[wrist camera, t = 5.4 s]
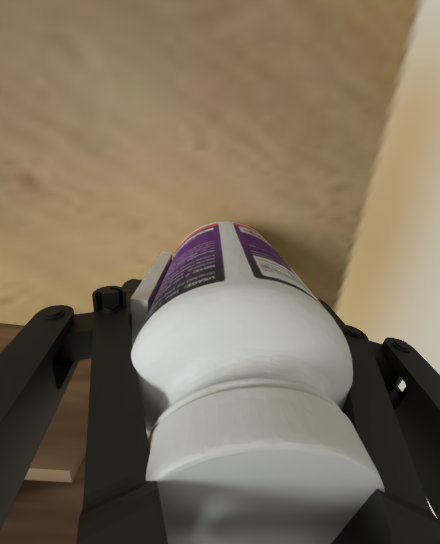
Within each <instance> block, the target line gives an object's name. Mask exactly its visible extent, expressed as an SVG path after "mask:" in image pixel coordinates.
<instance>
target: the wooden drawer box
mask: <svg viewBox="0 0 440 544" xmlns="http://www.w3.org/2000/svg"><path fill="white" fill-rule="evenodd" d="M23 328H24V326H18V325H9V324H0V353H1V352H2V351H3V350H4V348H5V347H6V346H7V345H8V344H9V343H10V342H11V341H12V340H13V339H14V337H15V336H16V335H17V334H18V333H19V332H20V331H21V330H22V329H23ZM90 373H91V358H90V359H84V360H80V361H79V363H78V365H77V367H76V369H75V371H74V374H73V376H72V378H71V380H70V382H69V384H68V386H67V389H66V391H65V393H64V395H63V397H62V399H61V401H60V404H59V406H58V408H57V410H56V412H55V414H54V416H53V419H52V421H51V423H50V425H49V427H48V429H47V431H46V434H45V436H44V438H43V440H42V442H41V444H40V446H39V449H38V451H37V453H36V455H35V457H34V459H33V461H32V464H31V466H30V468H29V470H28V472H27V474H26V476H25V479H24V481H23V483H22V485H21V487H20V489H19V491H18V494H17V496H16V498H15V500H14V502H13V504H12V506H11V509H10V511H9V513H8V515H7V517H6V519H5V521H4V524H3V526H2V528H1V530H0V544H76V541H77V530H78V522H79V516H80V514H81V511H82V507H83V497H84V479H85V462H86V444H87V426H88V409H89V391H90Z"/></svg>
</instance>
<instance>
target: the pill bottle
mask: <svg viewBox="0 0 440 544" xmlns="http://www.w3.org/2000/svg"><path fill="white" fill-rule="evenodd" d="M131 360H132V363H133V366H134V367H135V369H136V370H137V376H138V382H139V388H140V394H141V401H142V407H143V413H144V420H145V426H146V432H147V434H148V436H149V439H148V445H149V451H150V455H149V460H148V465H147V470H146V481H157V485H158V490H159V495H160V500H161V506H162V512H163V518H164V524H165V530H166V536H167V542H168V544H331V543H332V542H333V541H334V540H335V538H336V537H337V536H338V535H339V533H340V532H341V531H342V530H343V528H344V527H345V526H346V525H347V523H348V522H349V521H350V520H351V519H352V517H353V516H354V515H355V514H356V513H357V511H358V510H359V509H360V508H361V507H362V505H363V504H364V503H365V502H366V501H367V499H368V498H369V497H370V496H371V495H372V494H373V492H374V491H375V490H376V489H379V490H381V491H383V492H385V489H384V485H383V482H382V480H381V478H380V475H379V473H378V471H377V469H376V467H375V465H374V464H373V462H372V460H371V458H370V456H369V454H368V453H367V451H366V449H365V447H364V445H363V443H362V441H361V440H360V438H359V436H358V434H357V432H356V430H355V428H354V426H353V424H352V422H351V421H350V420H349V418H348V417H347V416H346V415H345V414H344V413H343V412H342V409H343V406H344V404H345V401H346V399H347V396H348V393H349V390H350V388H351V385H352V383H353V365H352V357H351V353H350V349H349V346H348V343H347V340H346V338H345V336H344V335H343V333H342V331H341V329H340V328H339V326H338V325H337V323H336V322H335V321H334V320H333V318H332V317H331V316H330V314H329V313H328V312H327V311H326V310H325V308H324V307H323V306H322V305H321V304H320V303H319V302H318V300H317V299H316V298H315V297H314V296H313V295H312V294H311V292H310V291H309V290H308V289H307V288H306V287H305V285H304V284H303V283H302V282H301V281H300V279H299V278H298V277H297V276H296V275H295V274H294V272H293V271H292V270H291V269H290V268H289V266H288V265H287V264H286V263H285V262H284V261H283V259H282V258H281V257H280V256H279V255H278V253H277V252H276V251H275V250H274V249H273V248H272V246H271V245H270V244H269V243H268V241H267V240H266V239H265V238H264V237H263V236H262V235H261V234H260V233H258V232H257V231H256V230H254V229H252V228H250V227H248V226H246V225H244V224H240V223H236V222H229V221H222V222H214V223H210V224H207V225H204V226H202V227H200V228H198V229H196V230H195V231H193V232H192V233H190V234H189V235H188V236H187V237H186V238H185V239H184V240H183V242H182V243H181V244H180V246H179V247H178V249H177V251H176V253H175V255H174V257H173V259H172V262H171V264H170V266H169V268H168V271H167V273H166V275H165V277H164V279H163V282H162V284H161V286H160V288H159V290H158V293H157V295H156V297H155V299H154V301H153V304H152V306H151V308H150V310H149V312H148V314H147V316H146V319H145V321H144V323H143V325H142V327H141V329H140V331H139V334H138V336H137V338H136V341H135V343H134V345H133V347H132V351H131Z"/></svg>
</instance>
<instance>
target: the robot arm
mask: <svg viewBox="0 0 440 544" xmlns="http://www.w3.org/2000/svg"><path fill="white" fill-rule="evenodd" d="M171 262H172V252H164V251H161V253H160V254H159V256H158V258H157V259H156V261H155V262H154V264H153V265H152V267H151V268H150V270H149V271H148V273H147V274H146V276H145V277H144V279H143V280H138V279H131V280H129V281H127V282H125V283H124V285H123V286H122V287H118V286H106V287H102V288H99V289H97V290H96V291H94V292H93V294H92V296H93V306H94V312H92V313H85V314H74V310H73V309H72V308H71V307H69V306H64V305H58V306H51V307H47V308H45V309H43V310H40V311H39V312H38V313H37V314H35V316H34V317H33V318H32V319H31V320H30V321H29V322H28V323H27V324H26V325H25V326H24V328H23V329H22V330H21V331H20V332H19V333H18V334H17V335H16V336H15V337H14V339H13V340H12V341H11V342H10V343H9V344H8V345H7V346H6V347H5V348H4V350H3V351H2V352H1V353H0V530H1V528H2V526H3V524H4V521H5V519H6V517H7V515H8V513H9V511H10V509H11V506H12V504H13V502H14V500H15V498H16V496H17V494H18V491H19V489H20V487H21V485H22V483H23V481H24V479H25V476H26V474H27V472H28V470H29V468H30V466H31V464H32V461H33V459H34V457H35V455H36V453H37V451H38V449H39V446H40V444H41V442H42V440H43V438H44V436H45V434H46V431H47V429H48V427H49V425H50V423H51V421H52V419H53V416H54V414H55V412H56V410H57V408H58V406H59V404H60V401H61V399H62V397H63V395H64V393H65V391H66V389H67V386H68V384H69V382H70V380H71V378H72V376H73V374H74V371H75V369H76V367H77V365H78V363H79V361H80V360H84V359H90V358H91V373H90V391H89V409H88V426H87V444H86V462H85V479H84V497H83V507H82V511H81V514H80V516H79V522H78V530H77V541H76V544H168V542H167V536H166V530H165V524H164V518H163V512H162V506H161V500H160V495H159V490H158V485H157V481H146V470H147V465H148V460H149V455H150V451H149V445H148V439H147V432H146V426H145V420H144V413H143V407H142V401H141V394H140V388H139V382H138V376H137V370H136V369H135V367H134V366H133V363H132V360H131V351H132V347H133V345H134V343H135V341H136V338H137V336H138V334H139V331H140V329H141V327H142V325H143V323H144V321H145V319H146V316H147V314H148V312H149V310H150V308H151V306H152V304H153V301H154V299H155V297H156V295H157V293H158V290H159V288H160V286H161V284H162V282H163V279H164V277H165V275H166V273H167V271H168V268H169V266H170V264H171ZM289 268H290V269H291V270H292V271H293V269H292V268H291V267H289ZM293 272H294V271H293ZM294 274H295V275H296V276H297V277H298V275H297V274H296V273H295V272H294ZM298 278H299V277H298ZM299 279H300V278H299ZM300 281H301V282H302V283H303V281H302V280H301V279H300ZM303 284H304V283H303ZM304 285H305V284H304ZM305 287H306V288H307V289H308V287H307V286H306V285H305ZM308 290H309V289H308ZM309 291H310V290H309ZM310 292H311V291H310ZM311 294H312V295H313V293H312V292H311ZM313 296H314V295H313ZM314 297H315V296H314ZM315 298H316V297H315ZM316 299H317V298H316ZM317 300H318V302H319V303H320V304H321V305H322V306H323V307H324V308H325V310H326V311H327V312H328V313H329V314H330V316H331V317H332V318H333V320H334V321H335V322H336V323H337V325H338V326H339V328H340V329H341V331H342V333H343V335H344V336H345V338H346V340H347V343H348V346H349V349H350V353H351V357H352V365H353V383H352V385H351V388H350V390H349V393H348V396H347V399H346V401H345V404H344V406H343V409H342V412H343V413H344V414H345V415H346V416H347V417H348V418H349V420H350V421H351V422H352V424H353V426H354V428H355V430H356V432H357V434H358V436H359V438H360V440H361V441H362V443H363V445H364V447H365V449H366V451H367V453H368V454H369V456H370V458H371V460H372V462H373V464H374V465H375V467H376V469H377V471H378V473H379V475H380V478H381V480H382V482H383V485H384V489H385V492H383V491H381V490H379V489H376V490H375V491H374V492H373V494H372V495H371V496H370V497H369V498H368V499H367V501H366V502H365V503H364V504H363V505H362V507H361V508H360V509H359V510H358V511H357V513H356V514H355V515H354V516H353V517H352V519H351V520H350V521H349V522H348V523H347V525H346V526H345V527H344V528H343V530H342V531H341V532H340V533H339V535H338V536H337V537H336V538H335V540H334V541H333V542H332V543H331V544H440V375H439V374H438V373H437V372H436V371H435V370H434V369H433V368H432V367H431V366H430V364H429V363H428V362H427V361H426V360H425V359H424V358H423V357H422V356H421V355H420V354H419V353H418V352H417V351H416V350H415V349H414V348H413V347H411V346H410V345H408V344H407V343H406V342H404V341H402V340H399V339H395V338H386V339H385V341H384V342H383V344H379V343H375V342H372V341H369V340H368V338H367V336H366V335H365V334H364V333H363V332H362V331H360V330H359V329H357V328H354V327H352V326H348V325H345V324H344V323H343V322H342V320H341V319H340V318H339V317H338V316H337V315H336V314H335V312H334V311H333V310H332V309H331V308H330V307H329V306H328V304H326V303H325V302H323V301H322V300H319V299H317ZM402 380H403V381H404V382H405V384H406V388H405V389H404V391H403V392H402V391H401V390H400V389H399V387H398V386H399V384H400V383H401V381H402ZM426 498H427V499H428V501H429V503H430V505H431V507H432V509H433V510H434V512H435V514H436V516H437V518H438V519H437V518H436V517H435V516H434V515H433V513H432V511H431V509H430V507H429V504H428V502H427V499H426Z"/></svg>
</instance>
